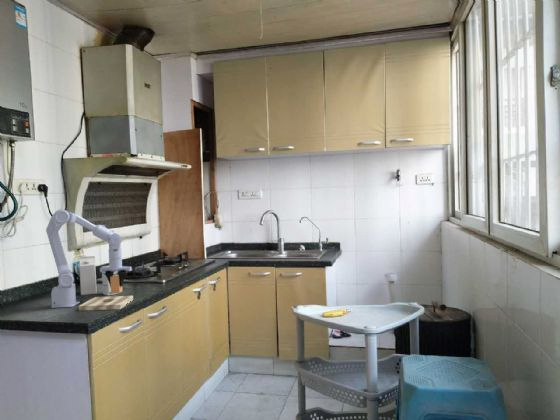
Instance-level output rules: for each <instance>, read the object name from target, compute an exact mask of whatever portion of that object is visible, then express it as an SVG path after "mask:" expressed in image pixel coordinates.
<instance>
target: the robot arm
mask: <svg viewBox="0 0 560 420" xmlns="http://www.w3.org/2000/svg"><path fill="white" fill-rule="evenodd" d="M67 222H68V223H69V224H77V225H79V226H82V227H84V228H85V229H86V230H89V231H91V232H92V235H93V236H94V237H96V238H99V239H100V240H102V241H103V242H107V243H108V266H109V267H102V266H101V267H99V273H102V272H105V276H106V277H107V279H108V281H109V284H110V287H111V281H110V277H111V276H113V273H114V271H118V275H119V280H120V286H122V287H123V286H124V281H125V278H126V275H127V273H128V272H131V271H132V269H133V268H132V266H125V265H123V259H122V258H123V257H122V256H123V255H122V254H123V253H122V245H121V244H122V242H123V239H122V236H121V235H120V234H118V233H117V232H115V231H114V230H113V229H112V230H111V229H109V228H107V227H106V225H104V224H102V225H101V224H94V223H92V222H90V221H88V220H87V219H85V218H83V217H82V216H80V215H79V214H76V213H74V212H72V211H67V210H66V209H62V208H60V209H58V210H56V211H55V212H54V213H53V214H52V215H51V217H50V220H49V221H48V223H47V224H48V225H47V226H46V230H45V232H46V235H47V238H48V239H47V240H48V242H49V245H50V250H51V252H52V256H53V259H54V262H55V266H56V268H57V273H58V277H57V278H58V279H57V280H58V281H57V282H58V285H57V286H54V287H52V289H51V293H50V294H51V295H50V296H51V306H50V308H52V309H54V308H55V309H56V308H72V307H75V306H77V305H79V304H80V303H81V302H80V301H77V294H76V283H74V282H75V277H74V273H73V272H72V271H71V270H70V268H69V264H68V261H67V257H66V254H65V251H64V248H63V244H62V241H61V237H60V233H59V232H60V229H61V228H62V227H63V225H65V224H66V223H67Z"/></svg>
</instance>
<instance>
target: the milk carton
mask: <svg viewBox="0 0 560 420" xmlns="http://www.w3.org/2000/svg"><path fill="white" fill-rule="evenodd" d="M96 270H97V269H96V258H95V256H94V255H90V256H79V278H80V279H79V282H80V283H79V284H80V295H81V296H84V295H94V294H95V295H96V294H97V274H96Z"/></svg>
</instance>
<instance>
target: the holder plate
mask: <svg viewBox="0 0 560 420" xmlns="http://www.w3.org/2000/svg"><path fill="white" fill-rule="evenodd" d="M133 300H134V295H116V296H113V295H110V296H94V297H93V298H92V297H91V299H89V300H87V301H85V302H84V303H82V304H80V305H78V312H82V311H85V312H86V311H104V310H106V311H107V310H108V311H109V310H121V309H123V308H124V307H126V306H127V305H128V304H130V303H131V302H133ZM130 301H131V302H130ZM127 303H128V304H127ZM126 304H127V305H126Z"/></svg>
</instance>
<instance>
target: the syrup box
mask: <svg viewBox="0 0 560 420" xmlns="http://www.w3.org/2000/svg"><path fill="white" fill-rule="evenodd" d="M101 267H109V265H104V266H101ZM118 272H119V271H114V273H113V275H119V274H118ZM101 278H102V280H101V281H102V293H103V295H104V296H106V297H110V296H113V295H118V294H120V293H111V287H110V284H109V281H108V279H107V277H106V276H105V272H101Z"/></svg>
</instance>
